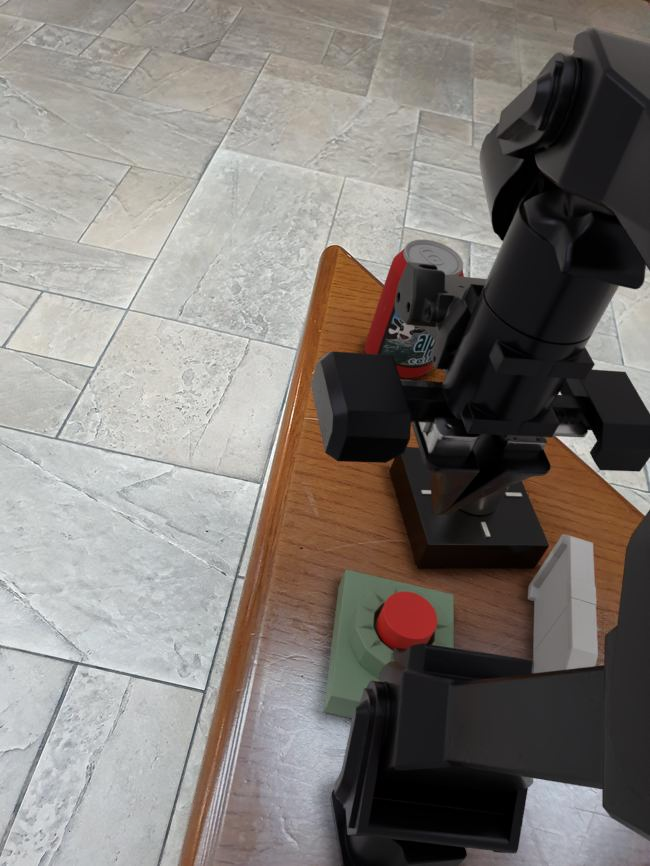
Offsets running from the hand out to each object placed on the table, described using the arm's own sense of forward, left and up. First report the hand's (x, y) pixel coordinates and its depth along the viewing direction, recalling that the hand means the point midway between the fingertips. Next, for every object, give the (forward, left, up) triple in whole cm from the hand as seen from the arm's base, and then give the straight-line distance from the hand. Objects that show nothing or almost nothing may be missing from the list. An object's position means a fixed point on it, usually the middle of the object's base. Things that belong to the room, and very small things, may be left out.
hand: (438, 508), depth 52 cm
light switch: (-3, -11, -13) cm, 17 cm away
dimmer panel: (+9, -9, -12) cm, 18 cm away
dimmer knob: (+9, -9, -9) cm, 16 cm away
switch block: (-3, 0, -12) cm, 13 cm away
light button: (-3, 0, -9) cm, 9 cm away
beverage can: (+29, -8, -13) cm, 32 cm away
